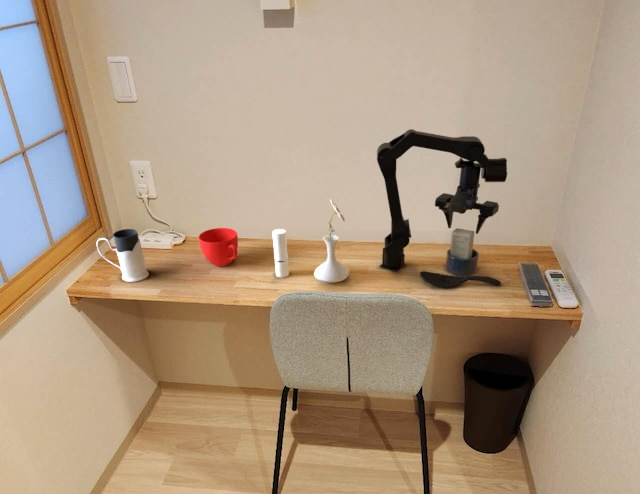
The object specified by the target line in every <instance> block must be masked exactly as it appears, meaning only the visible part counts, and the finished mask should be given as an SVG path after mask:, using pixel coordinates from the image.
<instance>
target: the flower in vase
mask: <svg viewBox="0 0 640 494" xmlns="http://www.w3.org/2000/svg"><path fill="white" fill-rule="evenodd" d="M330 203H331V206H332V208H333V212H332V214H331V217H330V219H329V221H328V222H327V223H328V234H327V235H324V236H323V237H322V240H323V241H324V243H325V245H326V250H327V257H326V260H325V261H324V262H322V263H321V264H319V265H318V266H316V268H315V269H314V271H313V276H314V277H315V279H316V280H318V281H320V282H322V283H329V284H330V283H339V282H342V281H345V280H347V279H348V277H349V276H350V270H349V269H348V267H347V266H345V265H344V264H343V263H342V262H340V261H338V260H337V258H336V245H337V242H338V241H339V239H340V237H339V236H338V235H336V234H331V233H333V232H335V231H336V230H335V229H333V226H332V224H331V223H332V219H333V217H334V215H335V214H336V215H337V216H338V217H339V219H341V221H342V222H345V221H346V219H345V216H344V215H343V214H342V213H341V212H340V211H341V210H340V209H339V208H338V207H337V204H336V202H335V201H334V199H333V198H330Z"/></svg>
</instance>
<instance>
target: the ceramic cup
mask: <svg viewBox="0 0 640 494" xmlns="http://www.w3.org/2000/svg"><path fill="white" fill-rule="evenodd" d="M198 242H199V247H200V250H201V253H202V254H203V256H204V258H205V260H207V261H208V262H209V263H211V264H212V265H213V266H215V267H225V266H228V265H230V264H231V263H232V262H233V260H234V259H236V258H237V257H238V254H239V252H238V249H239V248H238V246H239V238H238V232H237V231H236V230H235V229H233V228H228V227H217V228H209V229H207V230H204V231H203V232H201V233H200V234H199V235H198Z"/></svg>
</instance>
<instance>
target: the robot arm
mask: <svg viewBox="0 0 640 494" xmlns="http://www.w3.org/2000/svg"><path fill="white" fill-rule="evenodd" d="M412 147H415V148H416V147H417V148H422V149H427V150H432V151H433V150H434V151H439V152H445V153H450V154H452V155H455V156H457V157H459V159H458V160H457V161H455V162H454V167H455V168H456V169H460V173H459V181H458V182H459V183H458V185H457V187H456V192H455V194H451V193H447V192H446V193H445V192H443V193H441V194H439V195H438V196H437V197H436V198H435V200H434V206H435V207H436V208H438V210H440V211H442V212H443V215H444V217H445V220H446V224H447V229H451V228H452V225H453V217H454V213H458V214H461V215H463V214H465V213H466V212H467V211H468V210H469V211H473V210H478V211H479V214H478V215H477V218H478V220H477V224H476V228H475V234H476V235H478V234H479V233H480V231H481V229H482V228H483V226H484V224H485V222H486V220H487V219H488V218H491V217H493V216H494V215H496V214H497V213H498V212H499V208H500V205H499V203H498V202H496V201H491V200H490V201H489V200H486V201H485V202H483V203H480V202H477V201H479V196H478V193H479V188H480V187H481V184H480V178H481V179H482V180H483V179H484V183H505V182H506V180H507V177H508V164H507V162H508V159H507V158H506V157H499V158H489V157H488V156H487V154H485V150H486V149H485V145H484V144H483V142H482V141H481V139H480V138H479V137H477V136H466V135H465V136H455V137H453V136H447V135H442V134H436V133H435V134H434V133H429V132H425V131H419V130H415V129H413V128H412V129H411V128H410V129H407V130H406V131H405V132H404V133H402V134H401V135H398V136H396V137H395V138H393V139H392V140H390V141H389V142H383V143H381V144H380V145H379V146H378V147H377V149H376V162H377V164H378V167H379V170H380V172H381V175H382V177H383V179H384V185H385V190H386V196H387V203H388V208H389V213H390V233H389V234H388V235H386V236H385V237H384V247H383V248H382V259H381V260H382V261H381V264H380V265H379V268H381V269H384V270H389V271H393V272H398V271H400V270H401V269H402V268H403V267H405V265H406V262H405V260H406V254H405V249H404V248H406V247H407V246H408V245H409V244H410V239H412V232H411V227H410V226H411V225H410V219H409V218H407V219H405V218H404V216H403V215H404V214H403V209H402V204H401V198H400V193H399V192H400V191H399V185H398V180H397V160H398V159H399V158H401V157H402V156H403V155H404V154H405V153H406V152H408V151H409V150H410V149H411V148H412ZM476 162H477V163H476Z"/></svg>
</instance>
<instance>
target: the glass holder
mask: <svg viewBox="0 0 640 494" xmlns="http://www.w3.org/2000/svg"><path fill="white" fill-rule="evenodd" d="M112 237H113V240H114V245H115V248H113V247H112V243H111V242H110V241H109V239H107V238H105V237H100V238H98V239H97V241H96V244H95V245H96V248H97V251H98V253H99V255H100V256H101V257H102V259H103V260H105V261H106V262H108V264H110V265H112V266H114V267H116V268H118V270H120V272H121V279H122V281H125V282H127V283H128V282H129V283H132V282H133V283H134V282H139V281H142V280H144V279H146V278H148V277H149V275H150V273H149V271H148V269H147V265H146V262H145V261H146V260H145V257H144V253H143V248H142V245H141V239H140V237H139V233H138V231H137V230H136V229H135V228H124V229H123V228H122V229H119V230H117V231H115V232H114V233H112ZM102 240H104V241H106V242H107V243H108V245H109V248H110V250H111V251H113V252H116V255H117V260H118V263H119V265H118V264H116V263H114V262H113V261H111V260H109V259H108V258H106V256H105V255H104V254H103V253H102V252H101V249H100V247H99V242H100V241H102Z"/></svg>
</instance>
